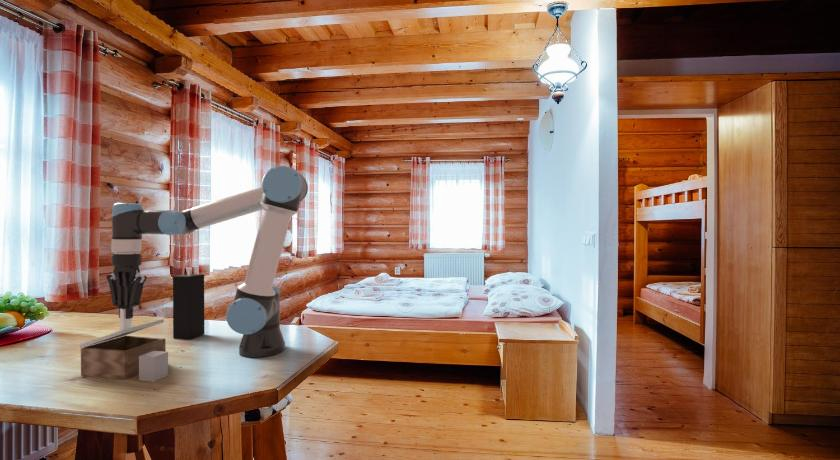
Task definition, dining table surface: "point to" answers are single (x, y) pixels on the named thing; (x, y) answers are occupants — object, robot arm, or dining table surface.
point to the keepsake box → (118, 356)
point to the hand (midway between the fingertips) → (125, 328)
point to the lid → (121, 333)
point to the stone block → (153, 366)
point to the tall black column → (188, 305)
